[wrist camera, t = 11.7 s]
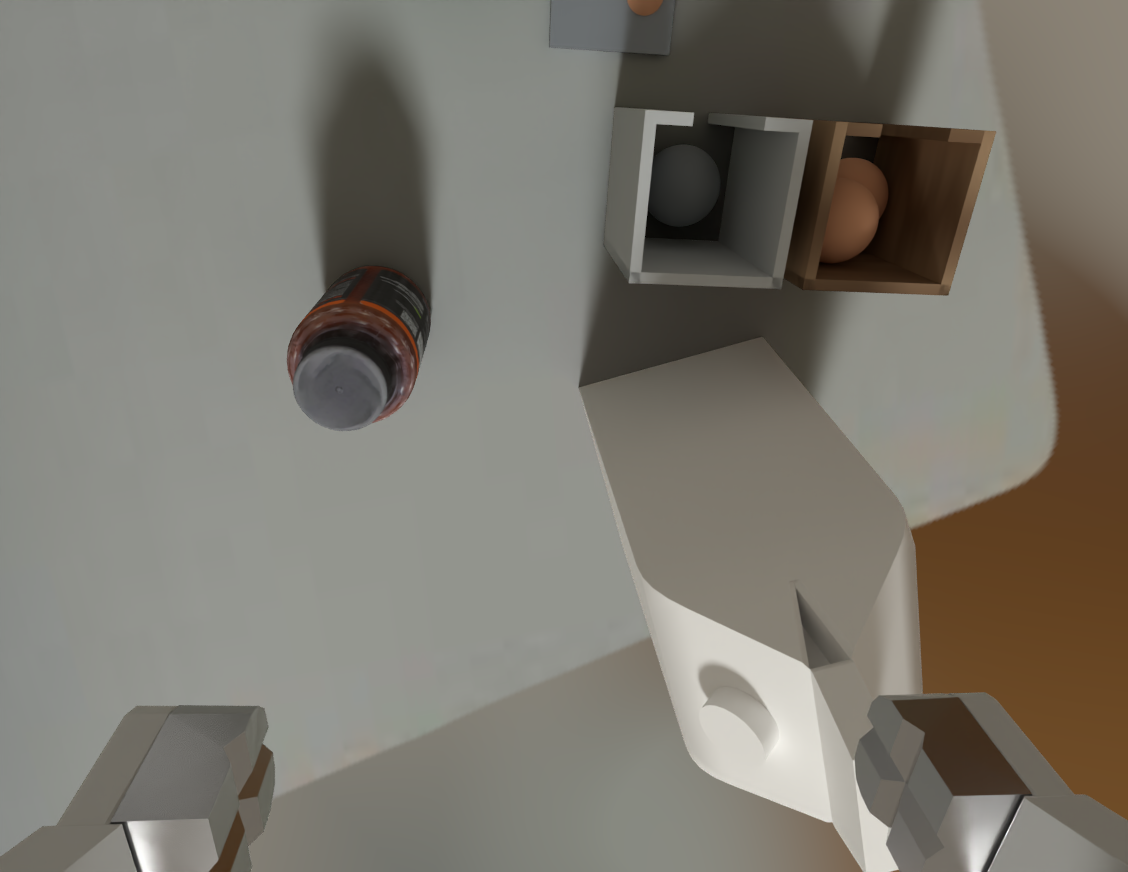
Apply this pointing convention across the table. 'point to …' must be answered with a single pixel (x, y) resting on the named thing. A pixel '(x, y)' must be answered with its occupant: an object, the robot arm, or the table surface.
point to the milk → (762, 575)
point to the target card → (612, 25)
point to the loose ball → (849, 221)
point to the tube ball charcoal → (683, 185)
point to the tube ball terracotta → (866, 178)
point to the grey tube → (750, 213)
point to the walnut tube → (892, 208)
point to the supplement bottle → (359, 349)
